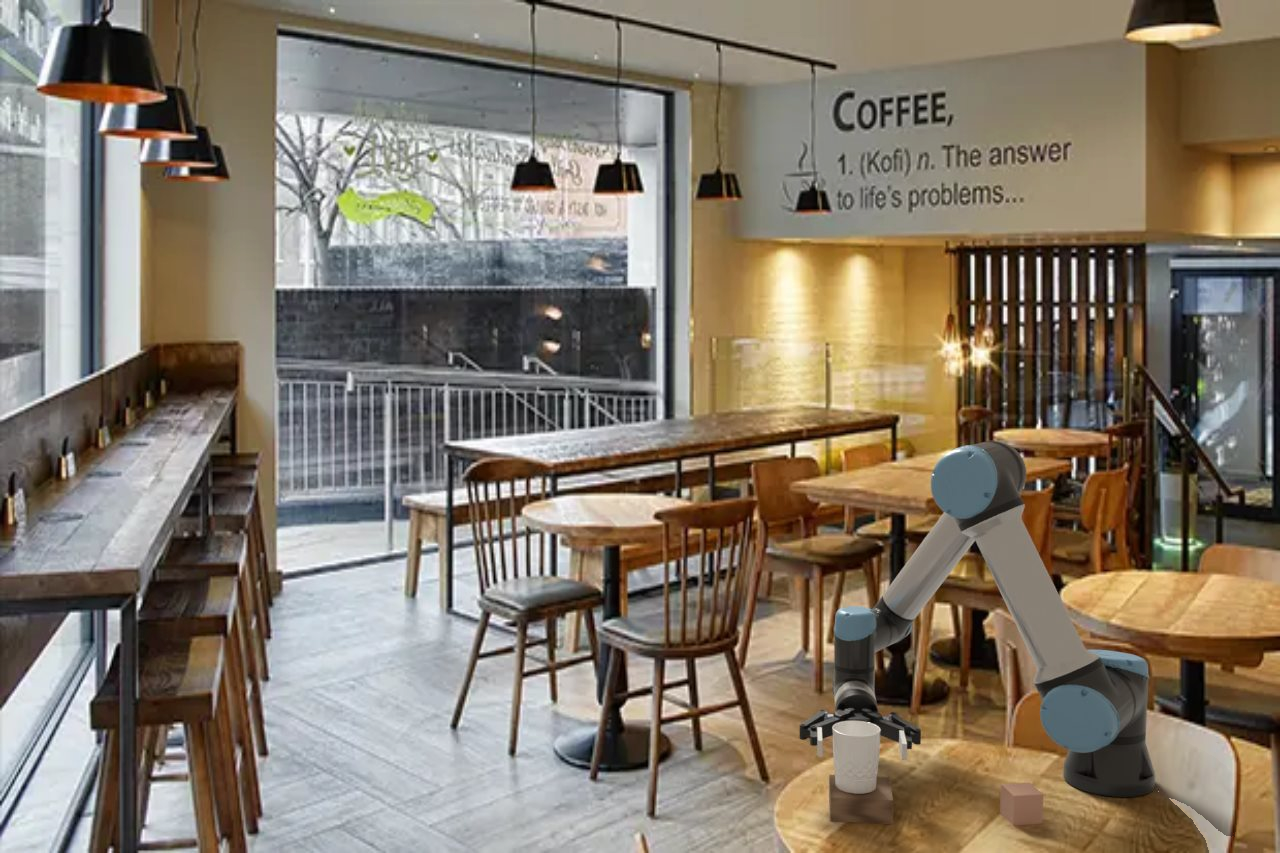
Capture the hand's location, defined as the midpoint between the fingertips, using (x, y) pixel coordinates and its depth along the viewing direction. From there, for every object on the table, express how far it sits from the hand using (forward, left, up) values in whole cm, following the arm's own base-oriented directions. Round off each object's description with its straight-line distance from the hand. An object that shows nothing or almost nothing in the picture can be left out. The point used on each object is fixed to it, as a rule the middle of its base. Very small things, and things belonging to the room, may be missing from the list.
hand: (862, 750), depth 207 cm
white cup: (+1, -3, -8) cm, 8 cm away
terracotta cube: (-26, -3, -12) cm, 29 cm away
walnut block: (0, -3, -11) cm, 12 cm away
